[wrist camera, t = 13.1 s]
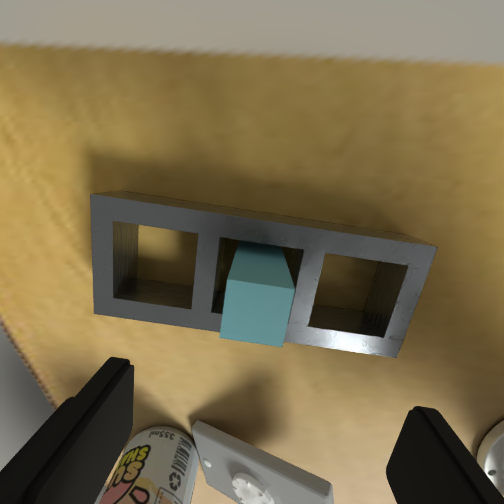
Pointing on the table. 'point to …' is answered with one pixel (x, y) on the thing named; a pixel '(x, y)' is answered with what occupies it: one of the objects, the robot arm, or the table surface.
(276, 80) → the table surface
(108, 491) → the beverage can
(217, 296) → the hole rail
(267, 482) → the light switch
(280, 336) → the square peg
